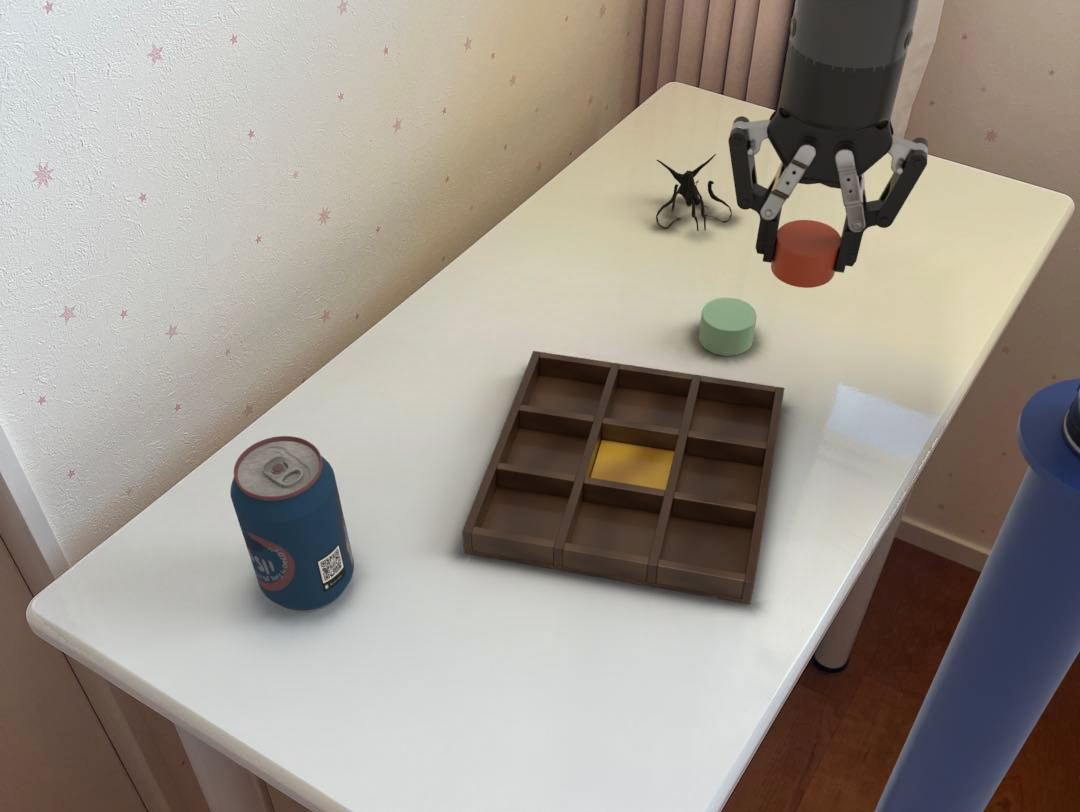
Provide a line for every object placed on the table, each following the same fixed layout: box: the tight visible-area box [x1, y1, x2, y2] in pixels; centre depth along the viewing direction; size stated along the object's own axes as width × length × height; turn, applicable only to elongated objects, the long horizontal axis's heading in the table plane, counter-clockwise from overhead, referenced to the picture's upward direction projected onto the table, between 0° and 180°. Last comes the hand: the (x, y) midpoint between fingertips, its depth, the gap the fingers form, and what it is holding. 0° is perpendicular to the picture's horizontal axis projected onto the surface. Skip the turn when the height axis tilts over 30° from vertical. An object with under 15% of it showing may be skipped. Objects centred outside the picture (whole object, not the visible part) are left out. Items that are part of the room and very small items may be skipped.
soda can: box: [229, 435, 355, 612], centre depth 77 cm, size 7×7×12 cm
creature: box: [655, 153, 733, 232], centre depth 110 cm, size 8×5×8 cm
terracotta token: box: [770, 219, 841, 289], centre depth 83 cm, size 5×5×3 cm
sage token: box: [698, 297, 758, 357], centre depth 98 cm, size 5×5×3 cm
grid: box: [461, 350, 785, 605], centre depth 87 cm, size 21×21×2 cm
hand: (803, 260), depth 84 cm, fingers closed on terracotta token, 4 cm apart
